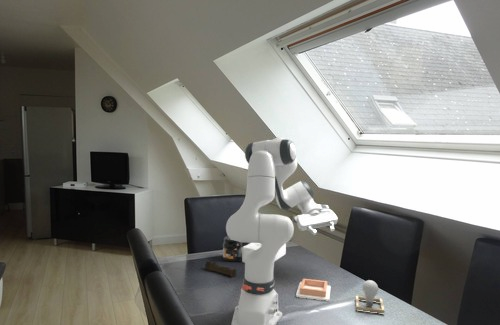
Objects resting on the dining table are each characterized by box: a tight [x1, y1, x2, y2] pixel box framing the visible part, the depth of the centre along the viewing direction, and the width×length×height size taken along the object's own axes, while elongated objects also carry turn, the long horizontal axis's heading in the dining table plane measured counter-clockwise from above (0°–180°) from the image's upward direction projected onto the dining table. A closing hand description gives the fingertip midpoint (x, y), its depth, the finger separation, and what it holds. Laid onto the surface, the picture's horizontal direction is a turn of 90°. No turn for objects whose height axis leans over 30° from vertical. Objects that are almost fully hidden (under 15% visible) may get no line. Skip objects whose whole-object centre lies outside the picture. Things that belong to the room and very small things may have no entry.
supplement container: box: [222, 235, 243, 262], centre depth 197 cm, size 10×10×12 cm
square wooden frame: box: [355, 295, 386, 314], centre depth 143 cm, size 10×10×2 cm
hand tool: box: [204, 260, 237, 278], centre depth 178 cm, size 19×4×5 cm, turn 52°
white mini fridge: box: [241, 243, 287, 264], centre depth 199 cm, size 14×25×11 cm, turn 149°
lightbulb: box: [361, 279, 379, 308], centre depth 143 cm, size 6×6×11 cm
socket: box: [295, 278, 332, 302], centre depth 156 cm, size 14×14×4 cm
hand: (324, 232), depth 167 cm, fingers open, 8 cm apart
